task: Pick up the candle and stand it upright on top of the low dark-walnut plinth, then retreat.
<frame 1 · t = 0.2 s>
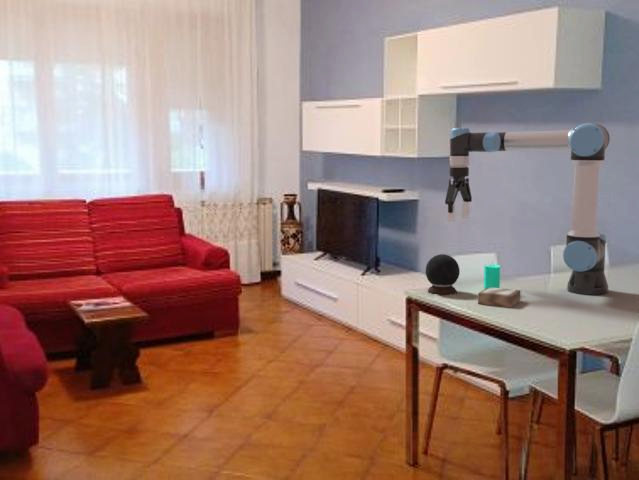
hand: (458, 219, 292), 27 cm above the table, fingers open, 13 cm apart
plinth: (499, 302, 264), on the table
candle: (491, 292, 281), on the table
smart speaker: (442, 292, 283), on the table
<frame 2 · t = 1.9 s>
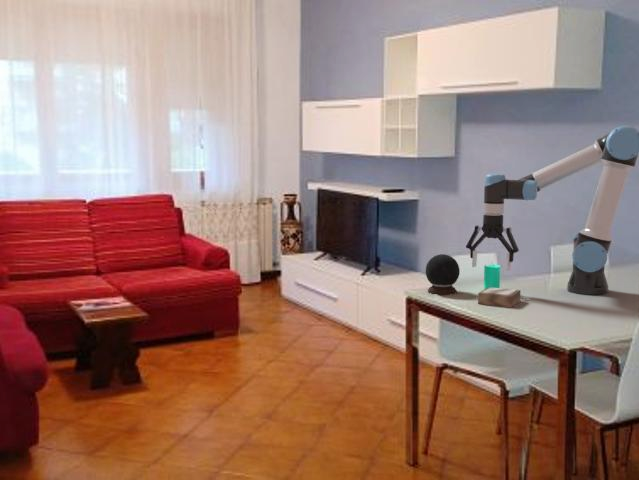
hand: (491, 268, 280), 9 cm above the table, fingers open, 13 cm apart
nothing on the table moved.
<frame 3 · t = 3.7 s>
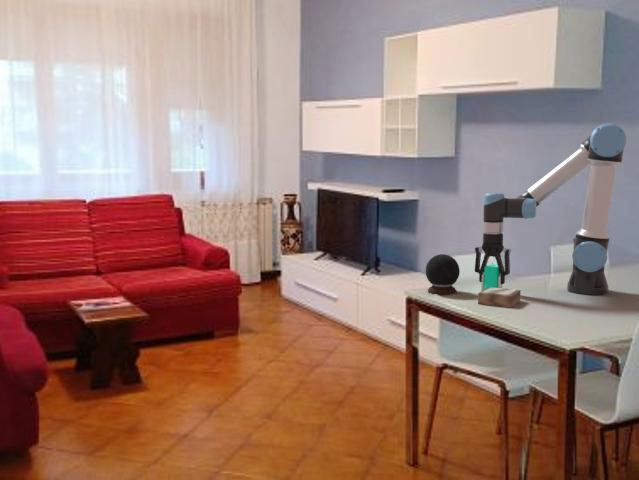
hand: (491, 291, 281), 0 cm above the table, fingers closed on candle, 6 cm apart
candle: (491, 292, 281), on the table, touching gripper
everything else where it was.
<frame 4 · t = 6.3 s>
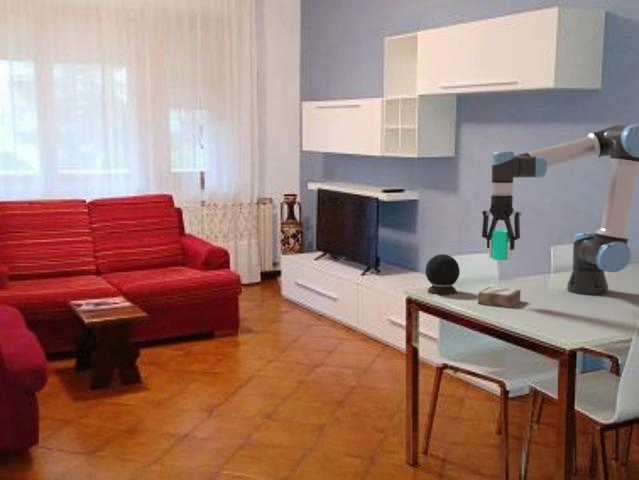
hand: (500, 257, 262), 17 cm above the table, fingers closed on candle, 6 cm apart
candle: (500, 259, 262), point 16 cm above the table, touching gripper
everything else where it was.
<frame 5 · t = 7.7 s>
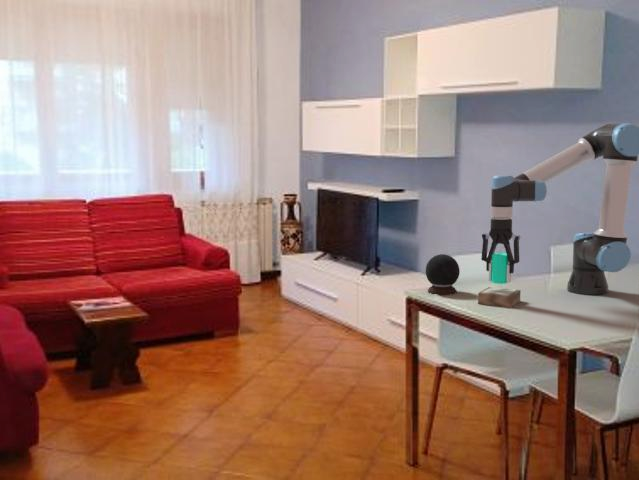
hand: (499, 280, 263), 8 cm above the table, fingers closed on candle, 6 cm apart
candle: (499, 282, 263), point 7 cm above the table, touching gripper
everything else where it was.
when the fingers open (6 cm above the table, at t = 8.8 s): candle drops 2 cm, resting on plinth.
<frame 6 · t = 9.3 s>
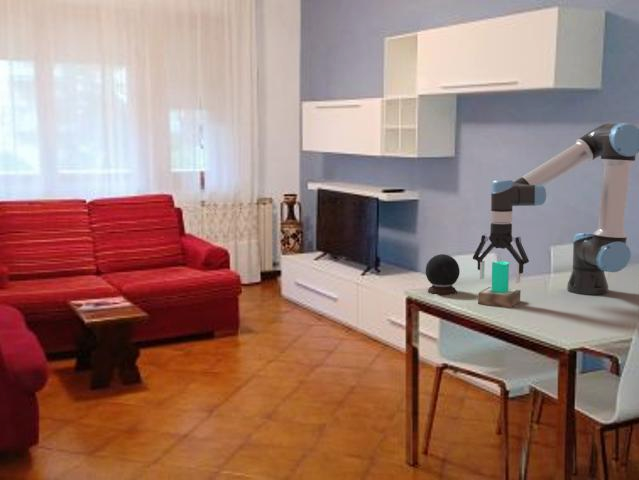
hand: (499, 280, 263), 8 cm above the table, fingers open, 13 cm apart
candle: (499, 291, 263), point 4 cm above the table, touching plinth
everything else where it was.
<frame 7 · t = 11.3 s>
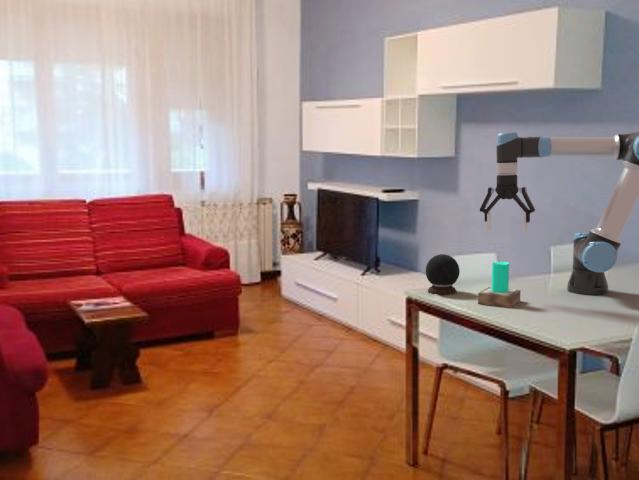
hand: (507, 230, 271), 25 cm above the table, fingers open, 13 cm apart
nothing on the table moved.
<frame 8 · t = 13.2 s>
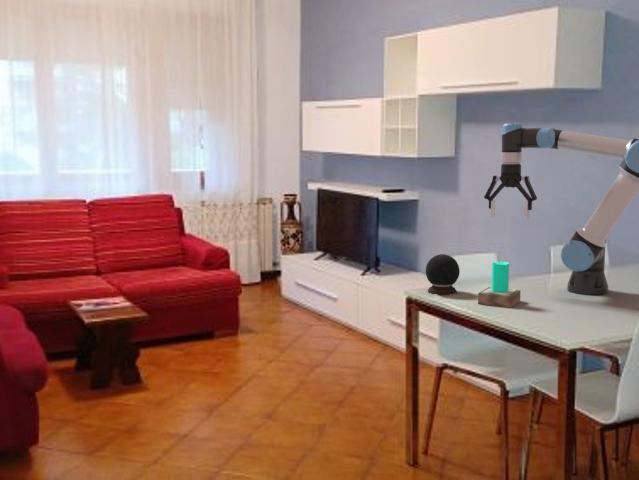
hand: (509, 217, 282), 29 cm above the table, fingers open, 13 cm apart
nothing on the table moved.
at the end: candle inside the target area on the plinth (0.1 cm from its centre), point 4.1 cm above the plinth's base; candle tilted 0°; the gripper is holding nothing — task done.
